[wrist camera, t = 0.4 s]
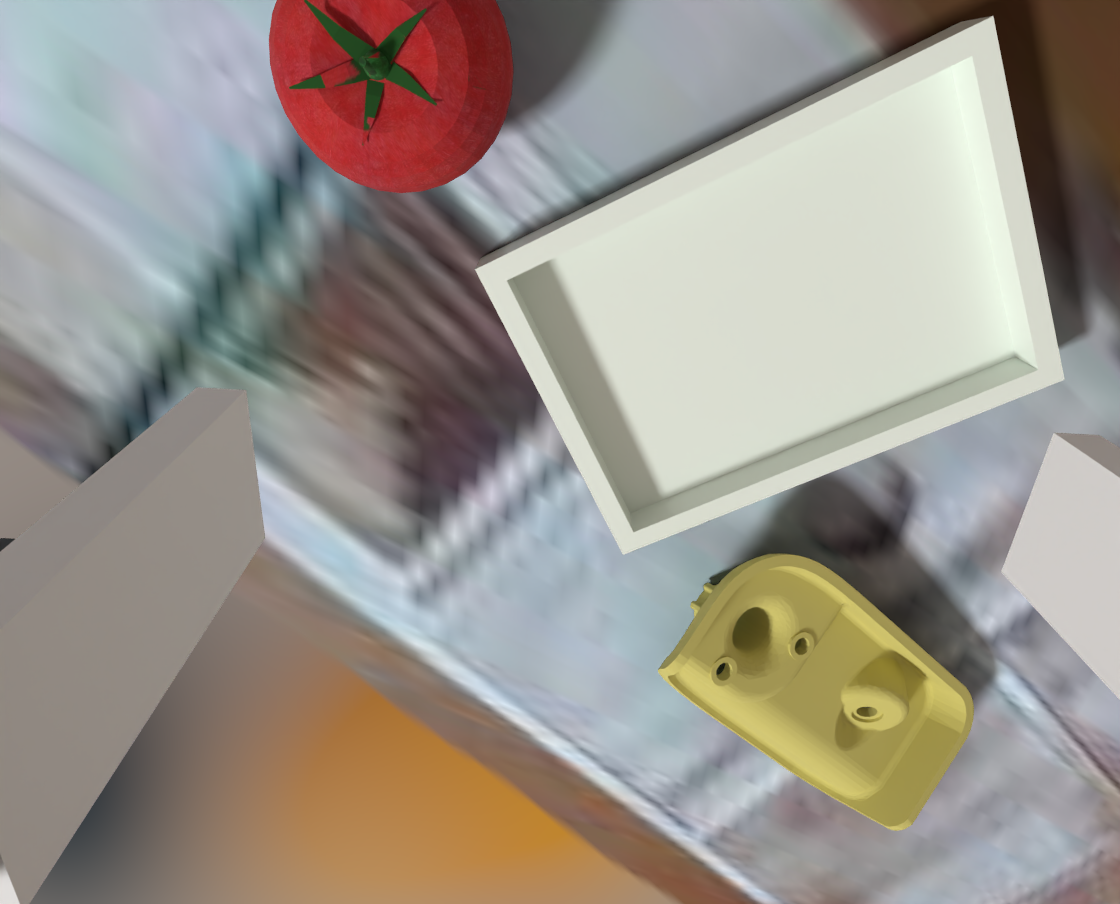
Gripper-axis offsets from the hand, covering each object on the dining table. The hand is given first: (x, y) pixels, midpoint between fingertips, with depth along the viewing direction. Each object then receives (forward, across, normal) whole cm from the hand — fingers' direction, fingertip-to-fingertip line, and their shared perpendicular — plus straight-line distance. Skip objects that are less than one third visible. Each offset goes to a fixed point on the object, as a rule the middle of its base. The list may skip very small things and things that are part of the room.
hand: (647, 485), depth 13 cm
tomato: (+24, -8, +6) cm, 26 cm away
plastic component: (+24, +14, -23) cm, 36 cm away
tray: (+24, +9, -3) cm, 25 cm away
